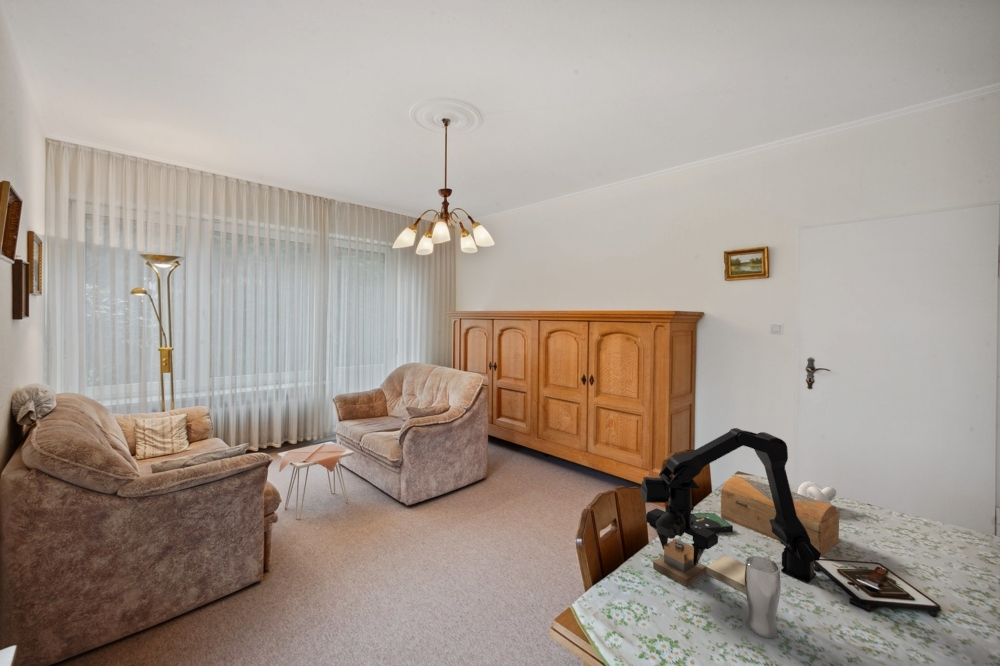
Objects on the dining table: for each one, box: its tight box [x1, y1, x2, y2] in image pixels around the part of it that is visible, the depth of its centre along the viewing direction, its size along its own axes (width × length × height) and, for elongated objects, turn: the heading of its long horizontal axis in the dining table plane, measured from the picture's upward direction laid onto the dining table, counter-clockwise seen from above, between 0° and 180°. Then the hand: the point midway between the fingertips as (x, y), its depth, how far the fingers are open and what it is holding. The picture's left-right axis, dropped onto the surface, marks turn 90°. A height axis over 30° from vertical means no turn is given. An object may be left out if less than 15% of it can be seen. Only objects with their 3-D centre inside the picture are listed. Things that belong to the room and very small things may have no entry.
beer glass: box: [744, 555, 782, 640], centre depth 92 cm, size 7×7×15 cm
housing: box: [663, 538, 695, 573], centre depth 114 cm, size 6×6×6 cm
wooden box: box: [720, 475, 841, 558], centre depth 137 cm, size 30×16×14 cm, turn 32°
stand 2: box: [705, 554, 746, 594], centre depth 112 cm, size 10×10×2 cm
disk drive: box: [691, 512, 734, 534], centre depth 139 cm, size 10×3×15 cm
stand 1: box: [652, 555, 707, 588], centre depth 114 cm, size 10×10×2 cm
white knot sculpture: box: [797, 481, 837, 505], centre depth 153 cm, size 11×12×9 cm
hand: (679, 557), depth 114 cm, fingers open, 9 cm apart
